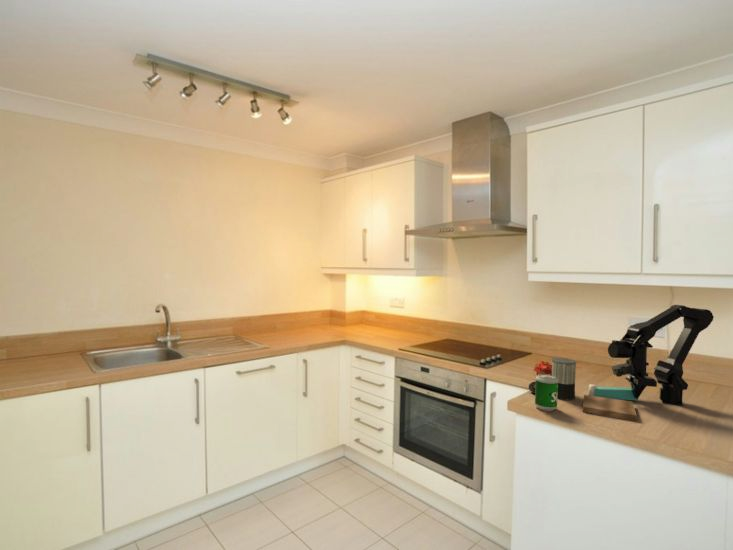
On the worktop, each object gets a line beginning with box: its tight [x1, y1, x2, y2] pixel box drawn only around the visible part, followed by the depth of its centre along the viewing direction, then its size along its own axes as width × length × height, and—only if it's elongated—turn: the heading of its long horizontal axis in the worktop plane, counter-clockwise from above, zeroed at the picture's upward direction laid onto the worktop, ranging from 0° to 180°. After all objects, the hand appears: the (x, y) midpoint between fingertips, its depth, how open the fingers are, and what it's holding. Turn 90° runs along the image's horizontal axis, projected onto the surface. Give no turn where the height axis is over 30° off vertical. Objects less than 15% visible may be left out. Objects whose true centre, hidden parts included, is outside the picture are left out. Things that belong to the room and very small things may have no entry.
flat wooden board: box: [582, 394, 638, 422], centre depth 146 cm, size 16×16×2 cm
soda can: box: [534, 374, 558, 412], centre depth 146 cm, size 8×8×12 cm
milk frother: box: [528, 357, 578, 400], centre depth 162 cm, size 14×16×15 cm
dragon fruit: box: [533, 360, 552, 377], centre depth 187 cm, size 8×8×12 cm
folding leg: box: [588, 384, 639, 401], centre depth 158 cm, size 18×3×5 cm, turn 88°
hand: (636, 398), depth 154 cm, fingers closed
